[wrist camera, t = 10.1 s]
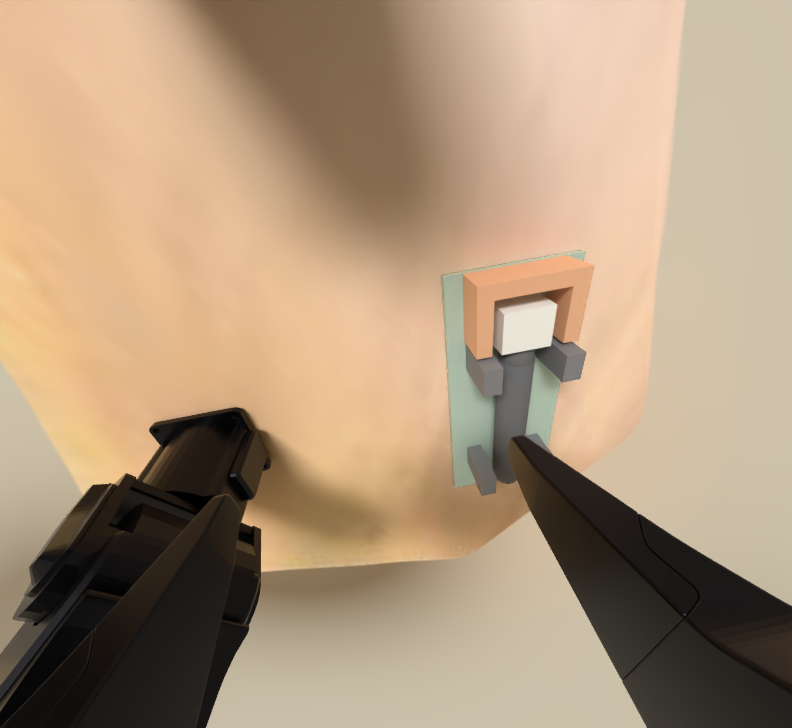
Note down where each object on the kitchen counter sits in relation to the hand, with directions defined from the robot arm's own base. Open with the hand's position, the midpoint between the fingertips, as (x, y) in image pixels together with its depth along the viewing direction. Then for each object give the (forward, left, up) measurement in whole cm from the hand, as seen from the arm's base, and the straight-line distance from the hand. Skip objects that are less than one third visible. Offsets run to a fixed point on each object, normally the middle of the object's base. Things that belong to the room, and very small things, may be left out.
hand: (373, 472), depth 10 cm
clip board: (+10, -8, -12) cm, 18 cm away
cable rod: (+10, -9, -12) cm, 17 cm away
